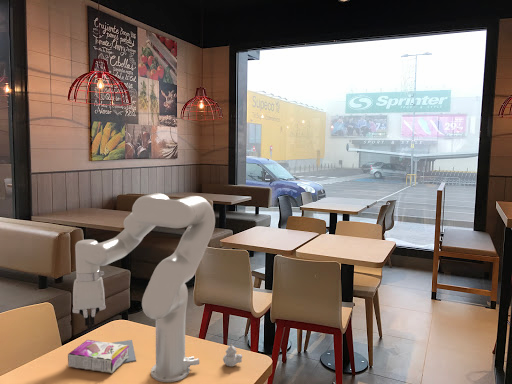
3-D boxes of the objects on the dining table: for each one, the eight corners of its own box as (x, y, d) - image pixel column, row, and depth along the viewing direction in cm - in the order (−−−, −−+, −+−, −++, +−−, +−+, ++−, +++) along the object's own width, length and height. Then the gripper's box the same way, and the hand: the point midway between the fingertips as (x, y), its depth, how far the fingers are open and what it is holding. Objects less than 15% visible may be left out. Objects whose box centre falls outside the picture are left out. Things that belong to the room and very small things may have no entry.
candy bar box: (87, 338, 152) (129, 344, 149) (87, 351, 153) (129, 358, 150) (67, 353, 142) (112, 359, 138) (67, 367, 142) (112, 374, 139)
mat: (132, 341, 163) (131, 339, 163) (136, 361, 148) (136, 359, 148) (84, 347, 157) (83, 346, 157) (83, 369, 142) (83, 368, 142)
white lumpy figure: (224, 360, 150) (224, 338, 149) (242, 361, 150) (243, 339, 149) (222, 368, 145) (222, 346, 144) (241, 369, 144) (242, 347, 144)
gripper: (110, 270, 153) (112, 320, 155) (65, 274, 148) (67, 325, 150) (111, 276, 146) (113, 328, 148) (63, 281, 141) (66, 334, 143)
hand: (90, 326), depth 149 cm, fingers closed
